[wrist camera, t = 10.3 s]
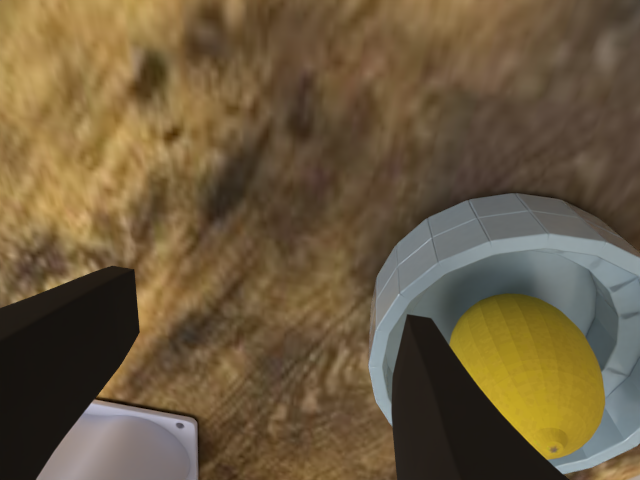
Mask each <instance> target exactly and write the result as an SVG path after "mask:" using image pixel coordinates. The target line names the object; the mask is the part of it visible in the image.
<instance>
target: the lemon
mask: <svg viewBox="0 0 640 480" xmlns="http://www.w3.org/2000/svg"><path fill="white" fill-rule="evenodd" d="M449 346H450V347H451V349H452V350H453V352H454V353H455V355H456V356H457V357H458V359H459V360H460V362H461V363H462V365H463V366H464V367H465V369H466V370H467V371H468V373H469V374H470V376H471V377H472V378H473V380H474V381H475V382H476V384H477V385H478V386H479V388H480V389H481V390H482V391H483V392H484V394H485V395H486V396H487V397H488V398H489V400H490V401H491V402H492V403H493V405H494V406H495V407H496V408H497V409H498V410H499V411H500V413H501V414H502V415H503V416H504V417H505V418H506V419H507V420H508V421H509V422H510V423H511V424H512V426H513V427H514V428H515V429H516V430H517V431H518V432H519V433H520V434H521V435H522V436H523V437H524V438H525V439H526V440H527V441H528V442H529V443H530V444H531V445H532V446H533V447H534V448H535V449H536V450H537V451H538V452H539V453H540V454H541V455H542V456H543V457H544V458H546V459H547V460H550V459H556V458H560V457H563V456H566V455H569V454H571V453H573V452H575V451H576V450H578V449H580V448H581V447H582V446H583V445H584V444H585V443H587V442H588V441H589V440H590V439H591V438H592V436H593V435H594V433H595V431H596V430H597V428H598V427H599V425H600V423H601V420H602V416H603V412H604V407H605V392H604V385H603V378H602V373H601V369H600V366H599V363H598V361H597V358H596V356H595V354H594V352H593V350H592V348H591V347H590V345H589V343H588V341H587V339H586V337H585V336H584V334H583V333H582V332H581V330H580V329H579V328H578V327H577V326H576V325H575V324H574V323H573V322H572V321H571V320H570V319H569V318H568V317H567V316H566V315H565V314H564V313H563V312H561V311H560V310H559V309H557V308H556V307H554V306H552V305H551V304H549V303H547V302H545V301H543V300H541V299H539V298H536V297H532V296H528V295H524V294H512V293H505V294H499V295H493V296H490V297H488V298H485V299H482V300H480V301H479V302H477V303H476V304H474V305H473V306H471V307H470V308H469V309H468V310H467V311H466V312H465V313H464V314H463V315H462V316H461V317H460V318H459V320H458V322H457V324H456V326H455V327H454V329H453V331H452V334H451V339H450V344H449Z"/></svg>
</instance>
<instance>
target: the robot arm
mask: <svg viewBox="0 0 640 480" xmlns="http://www.w3.org/2000/svg"><path fill="white" fill-rule="evenodd" d="M139 333H140V331H139V319H138V307H137V295H136V284H135V272H134V269H128V268H122V267H116V266H111V267H107V268H104V269H101V270H98V271H95V272H93V273H90V274H87V275H85V276H82V277H80V278H77V279H75V280H72V281H70V282H67V283H65V284H62V285H60V286H57V287H55V288H52V289H50V290H47V291H45V292H42V293H40V294H37V295H35V296H32V297H30V298H27V299H24V300H21V301H19V302H16V303H13V304H11V305H8V306H5V307H2V308H0V480H198V428H197V422H196V420H195V419H193V418H191V417H186V416H181V415H175V414H170V413H165V412H159V411H154V410H149V409H143V408H138V407H132V406H127V405H122V404H116V403H111V402H105V401H100V400H95V398H96V396H97V395H98V394H99V393H100V391H101V390H102V389H103V387H104V386H105V385H106V384H107V382H108V381H109V380H110V378H111V377H112V376H113V374H114V373H115V372H116V371H117V369H118V368H119V367H120V365H121V364H122V362H123V360H124V359H125V357H126V355H127V354H128V352H129V351H130V349H131V347H132V345H133V343H134V342H135V340H136V338H137V336H138V334H139ZM391 415H392V427H393V438H394V449H395V460H396V471H397V480H569V479H568V478H567V477H566V476H564V475H563V474H562V473H561V472H560V471H559V470H558V469H557V468H556V467H554V466H553V465H552V464H551V463H550V462H549V461H548V460H547V459H546V458H544V457H543V456H542V455H541V454H540V453H539V452H538V451H537V450H536V449H535V448H534V447H533V446H532V445H531V444H530V443H529V442H528V441H527V440H526V439H525V438H524V437H523V436H522V435H521V434H520V433H519V432H518V431H517V430H516V429H515V428H514V427H513V426H512V424H511V423H510V422H509V421H508V420H507V419H506V418H505V417H504V416H503V415H502V414H501V413H500V411H499V410H498V409H497V408H496V407H495V406H494V405H493V403H492V402H491V401H490V400H489V398H488V397H487V396H486V395H485V394H484V392H483V391H482V390H481V389H480V388H479V386H478V385H477V384H476V382H475V381H474V380H473V378H472V377H471V376H470V374H469V373H468V371H467V370H466V369H465V367H464V366H463V365H462V363H461V362H460V360H459V359H458V357H457V356H456V355H455V353H454V352H453V350H452V349H451V347H450V346H449V344H448V343H447V341H446V340H445V338H444V336H443V335H442V333H441V332H440V330H439V329H438V327H437V326H436V324H435V323H434V321H433V320H432V318H428V317H422V316H416V315H410V314H407V316H406V320H405V325H404V329H403V333H402V337H401V342H400V346H399V350H398V354H397V359H396V363H395V367H394V371H393V376H392V405H391Z"/></svg>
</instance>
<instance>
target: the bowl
mask: <svg viewBox="0 0 640 480" xmlns="http://www.w3.org/2000/svg"><path fill="white" fill-rule="evenodd" d="M505 293H512V294H524V295H528V296H532V297H536V298H539V299H541V300H543V301H545V302H547V303H549V304H551V305H552V306H554V307H556V308H557V309H559V310H560V311H561V312H563V313H564V314H565V315H566V316H567V317H568V318H569V319H570V320H571V321H572V322H573V323H574V324H575V325H576V326H577V327H578V328H579V329H580V330H581V332H582V333H583V334H584V336H585V337H586V339H587V341H588V343H589V345H590V347H591V348H592V350H593V352H594V354H595V356H596V358H597V361H598V363H599V366H600V369H601V373H602V378H603V385H604V392H605V407H604V412H603V416H602V420H601V423H600V425H599V427H598V428H597V430H596V431H595V433H594V435H593V436H592V438H591V439H590V440H589V441H588V442H587V443H585V444H584V445H583V446H582V447H581V448H580V449H578V450H576V451H575V452H573V453H571V454H569V455H566V456H563V457H560V458H556V459H550V460H548V461H549V462H550V463H551V464H552V465H553V466H554V467H556V468H557V469H558V470H559V471H560V472H561V473H562V474H566V473H570V472H575V471H579V470H583V469H588V468H592V467H593V466H597V465H599V464H601V463H603V462H605V461H607V460H609V459H611V458H613V457H615V456H617V455H620V454H622V453H624V452H626V451H628V450H630V449H632V448H634V447H636V446H637V445H639V444H640V252H638V251H637V250H636V249H635V248H634V247H632V246H631V245H630V244H629V243H628V242H627V241H625V240H624V239H623V238H622V237H621V236H619V235H618V234H617V233H616V232H615V231H613V230H612V229H611V228H610V227H609V226H608V225H606V224H605V223H604V222H603V221H602V220H600V219H599V218H598V217H596V216H594V215H592V214H590V213H588V212H586V211H584V210H582V209H579V208H577V207H575V206H573V205H571V204H569V203H567V202H565V201H563V200H559V199H554V198H547V197H540V196H533V195H526V194H519V193H515V194H514V193H510V194H503V195H496V196H489V197H482V198H475V199H470V200H469V201H468V200H466V201H464V202H462V203H460V204H457V205H455V206H453V207H451V208H448V209H446V210H444V211H442V212H440V213H437V214H435V215H433V216H431V217H429V218H428V219H425V220H424V221H423V222H422V223H421V224H419V225H418V226H417V227H416V228H415V229H414V230H412V231H411V232H410V233H409V234H408V235H407V236H405V237H404V238H403V239H402V240H401V241H400V242H398V243H397V245H396V246H395V247H394V249H393V250H392V252H391V254H390V255H389V257H388V259H387V260H386V262H385V264H384V265H383V267H382V269H381V270H380V272H379V274H378V276H377V278H376V283H375V288H374V294H373V299H372V304H371V315H370V340H369V372H370V377H371V382H372V386H373V391H374V396H375V400H376V402H377V404H378V406H379V407H380V409H381V410H382V412H383V413H384V415H385V416H386V418H387V419H388V421H389V423H390V424H391V426H392V415H391V405H392V376H393V371H394V367H395V363H396V359H397V354H398V350H399V346H400V342H401V337H402V333H403V329H404V325H405V320H406V316H407V314H410V315H416V316H422V317H428V318H432V320H433V321H434V323H435V324H436V326H437V327H438V329H439V330H440V332H441V333H442V335H443V336H444V338H445V340H446V341H447V343H448V344H450V339H451V334H452V331H453V329H454V327H455V326H456V324H457V322H458V320H459V318H460V317H461V316H462V315H463V314H464V313H465V312H466V311H467V310H468V309H469V308H470V307H471V306H473V305H474V304H476V303H477V302H479V301H480V300H482V299H485V298H488V297H490V296H493V295H499V294H505Z"/></svg>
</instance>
